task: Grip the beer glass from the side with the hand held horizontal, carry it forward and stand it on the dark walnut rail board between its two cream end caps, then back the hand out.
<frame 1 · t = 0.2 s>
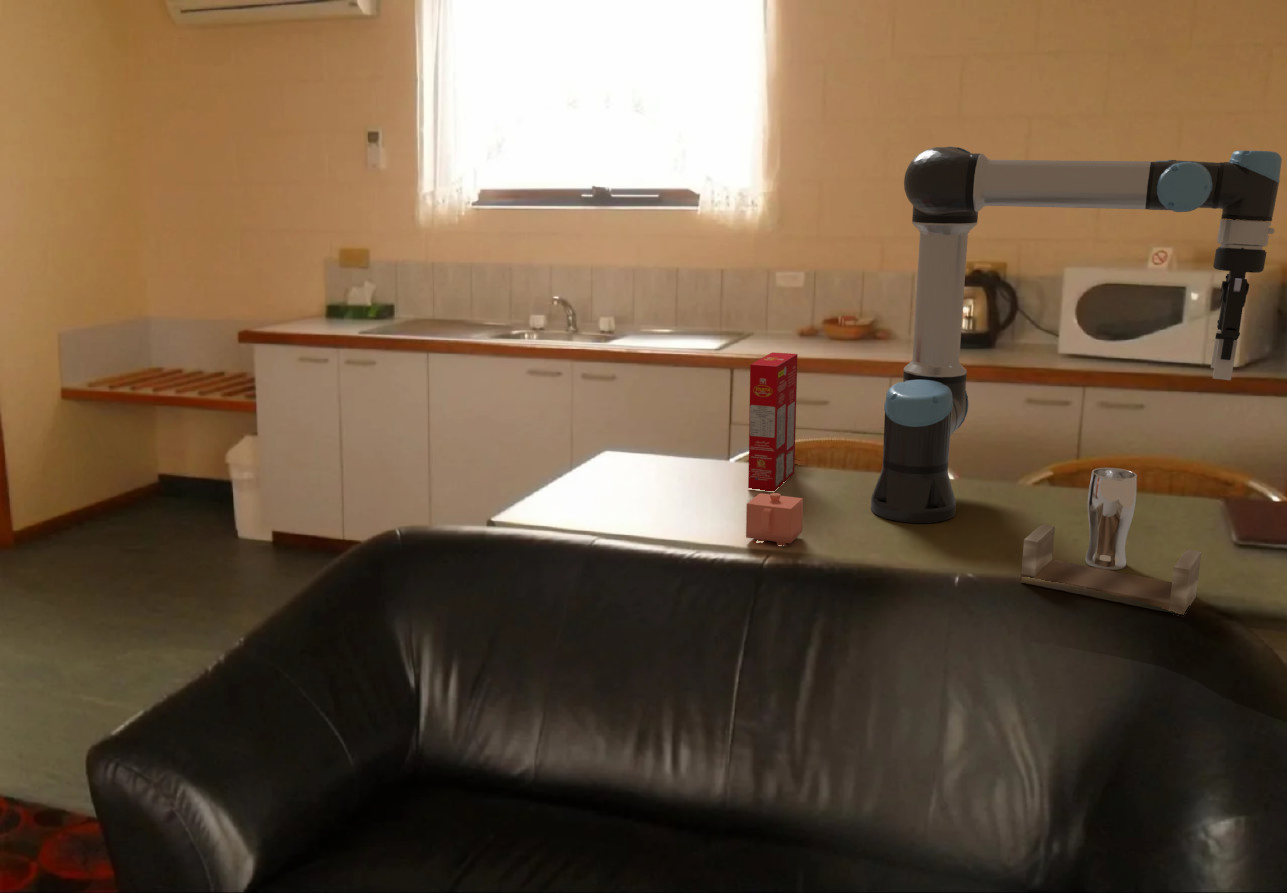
hand: (1220, 373, 193), 27 cm above the table, tool pointing down, fingers open, 13 cm apart
pink cube teapot: (775, 540, 194), on the table
food packaging: (771, 482, 228), on the table
rail board: (1106, 589, 171), on the table
beer glass: (1105, 564, 181), on the table
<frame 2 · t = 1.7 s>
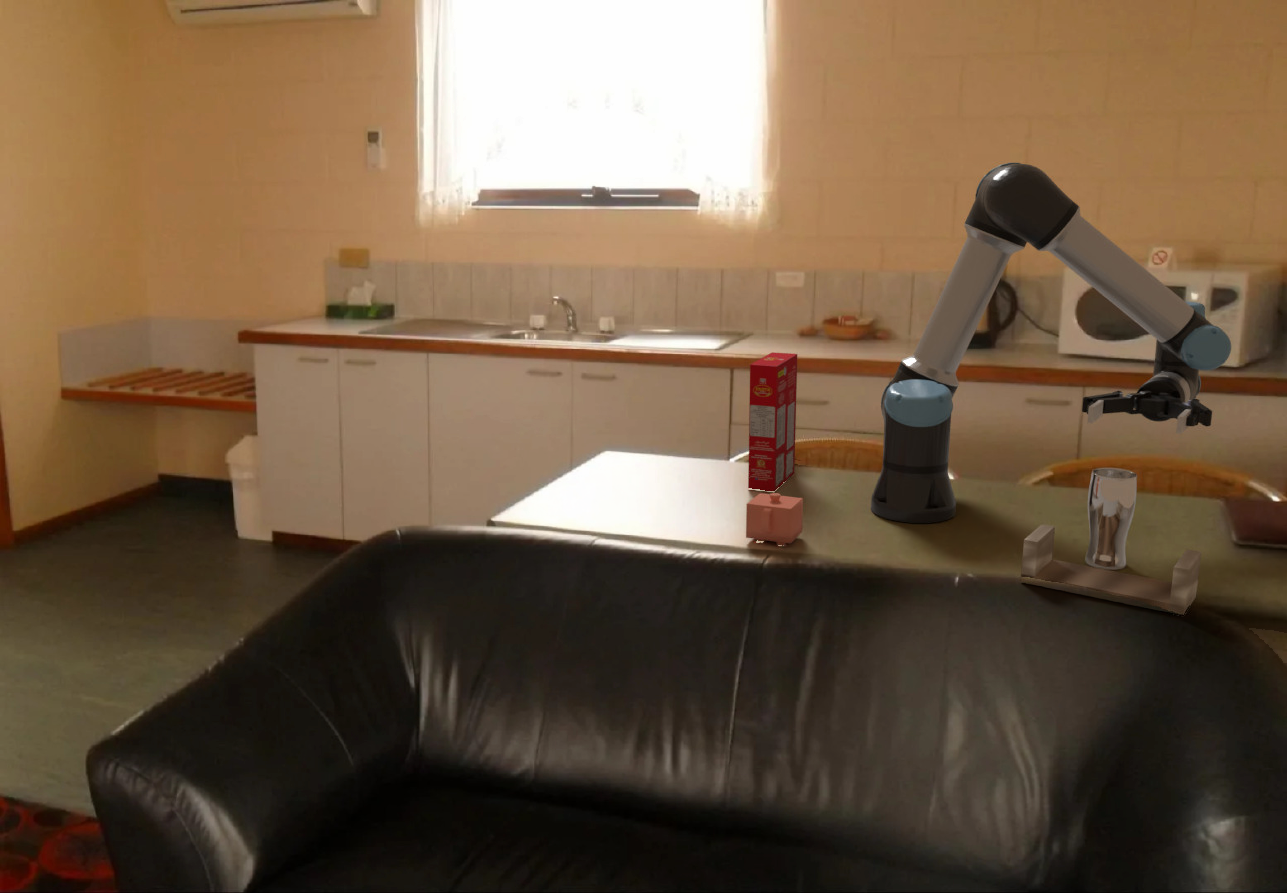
hand: (1133, 420, 184), 22 cm above the table, tool horizontal, fingers open, 13 cm apart
nothing on the table moved.
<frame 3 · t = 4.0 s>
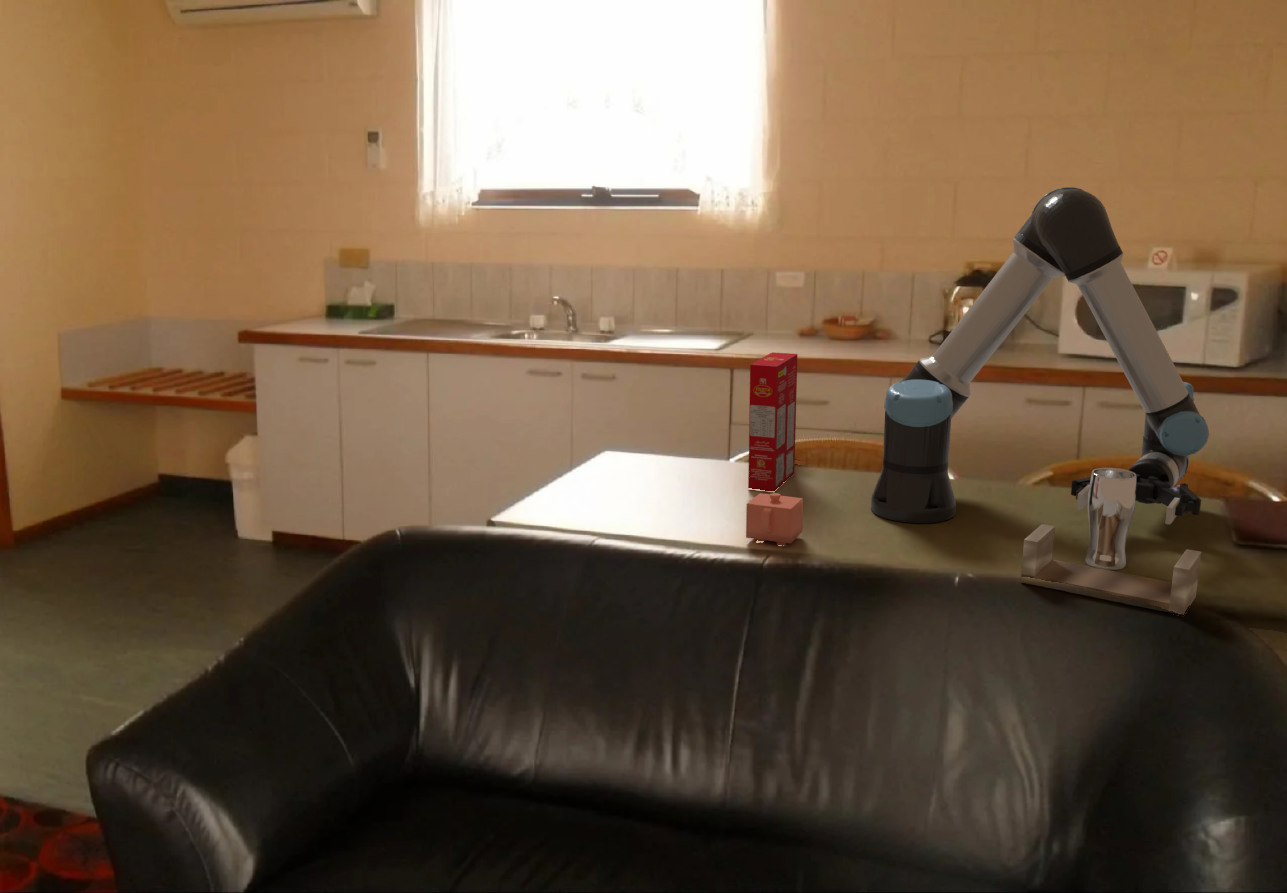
hand: (1123, 508, 183), 8 cm above the table, tool horizontal, fingers open, 13 cm apart
nothing on the table moved.
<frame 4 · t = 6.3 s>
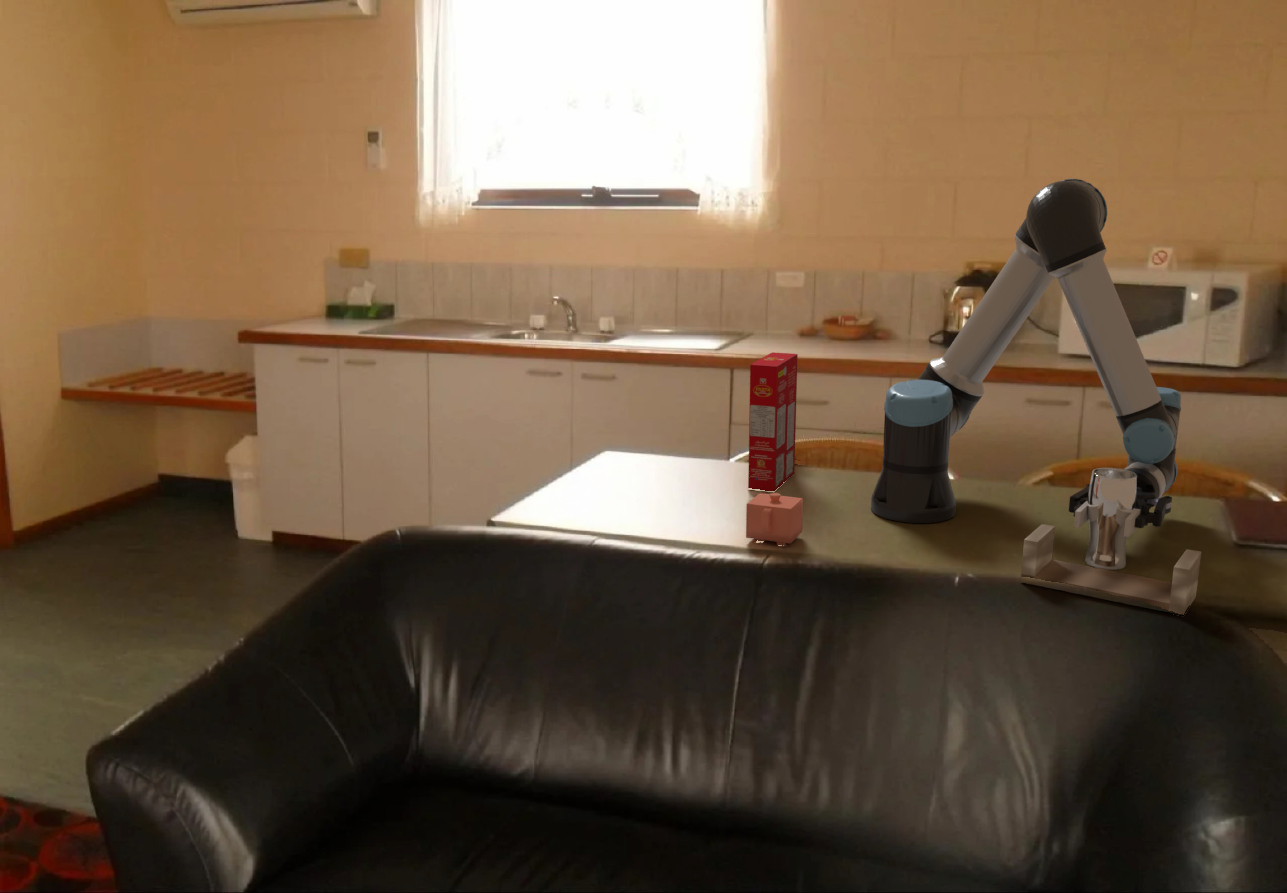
hand: (1101, 523, 175), 8 cm above the table, tool horizontal, fingers closed on beer glass, 7 cm apart
beer glass: (1105, 564, 181), on the table, touching gripper
everything else where it was.
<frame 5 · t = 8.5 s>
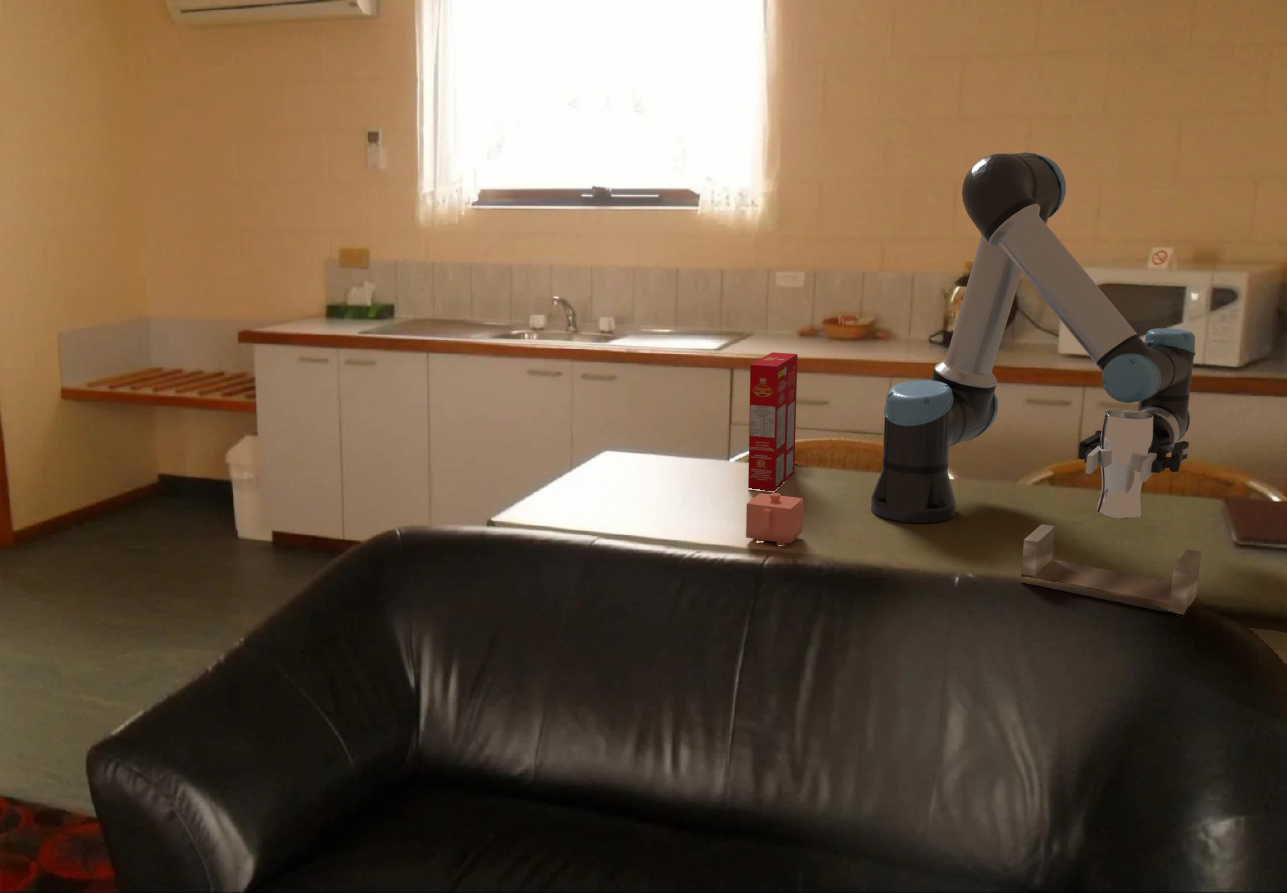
hand: (1116, 468, 162), 20 cm above the table, tool horizontal, fingers closed on beer glass, 7 cm apart
beer glass: (1118, 514, 168), point 12 cm above the table, touching gripper
everything else where it was.
when the fingers open (11 cm above the table, at t = 10.6 s): beer glass drops 1 cm, resting on rail board.
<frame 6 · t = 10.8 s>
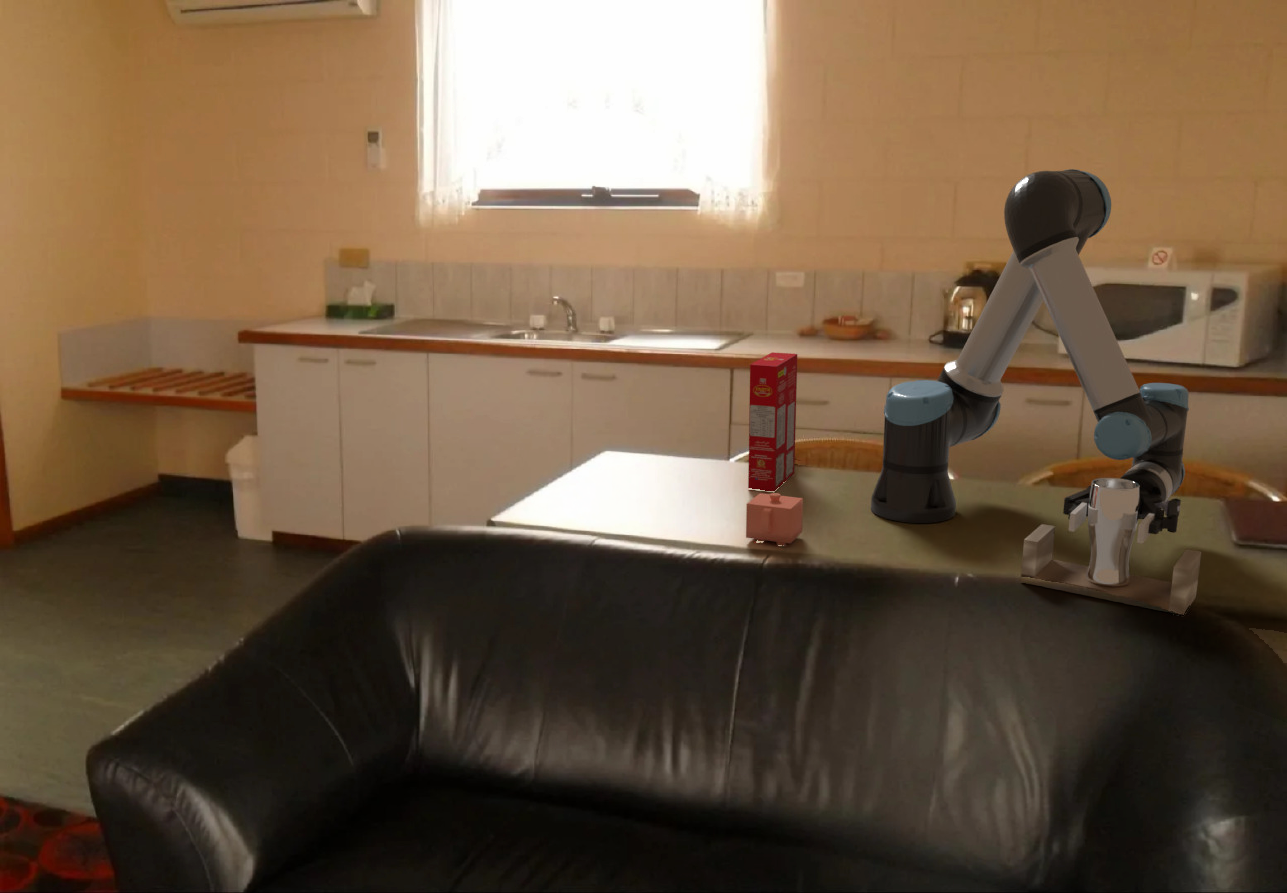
hand: (1105, 528, 164), 11 cm above the table, tool horizontal, fingers open, 9 cm apart
beer glass: (1107, 581, 170), point 1 cm above the table, touching rail board
everything else where it was.
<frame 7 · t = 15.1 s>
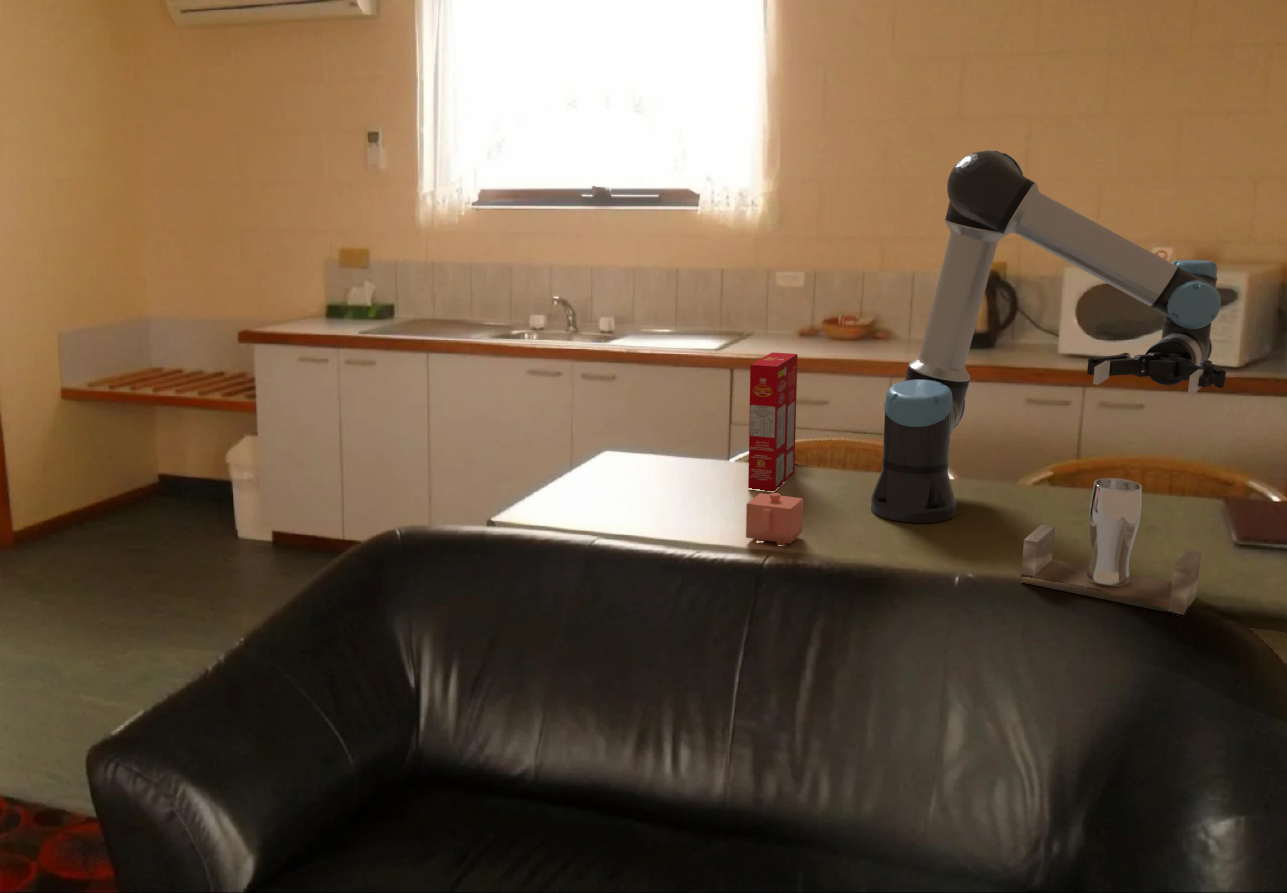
hand: (1142, 380, 173), 30 cm above the table, tool horizontal, fingers open, 13 cm apart
nothing on the table moved.
at the end: beer glass inside the target area on the rail board (0.0 cm from its centre), point 1.3 cm above the rail board's base; beer glass tilted 1°; the gripper is holding nothing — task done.
